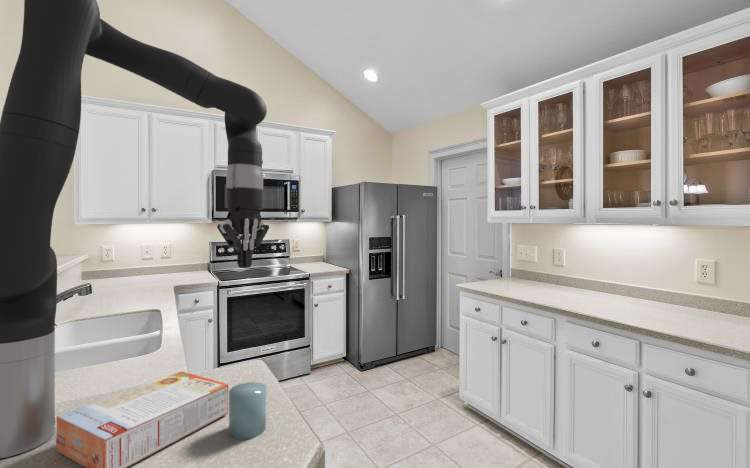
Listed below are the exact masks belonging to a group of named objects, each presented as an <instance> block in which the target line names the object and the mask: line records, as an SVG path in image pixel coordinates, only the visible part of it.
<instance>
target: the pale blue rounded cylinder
mask: <svg viewBox="0 0 750 468" xmlns="http://www.w3.org/2000/svg"><path fill="white" fill-rule="evenodd" d="M266 416H267V387H266V385H265V384H264V383H263V382H259V381H258V382H257V381H249V382H243V383H239V384H237V385H235V386H233V387H231V388H230V389H229V390H228V435H229V436H230V438H232V439H234V440H239V441H245V440H249V439H250V440H251V439H254V438H257V437H258V436H259V437H260V435H262V434H264V432H265V431H266V428H267V426H266V424H267V421H266V420H267V419H266V418H267V417H266Z"/></svg>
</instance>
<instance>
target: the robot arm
mask: <svg viewBox="0 0 750 468" xmlns="http://www.w3.org/2000/svg"><path fill="white" fill-rule="evenodd" d="M23 2H24V3H23V5H24V6H23V21H22V23H23V24H22V37H21V44H20V49H19V53H18V57H17V60H16V64H15V66H14V70H13V72H12V76H11V78H10V82H9V86H8V88H7V89H8V90H7V92H6V93H7V94H6V98H5V100H4V105H3V108H2V112H1V117H0V459H4V458H8V457H9V458H10V457H13V456H16V455H19V454H22V453H26V452H28V451H30V450H33V449H35V448H36V447H39V446H41V445H43V444H44V443H46V442H47V441H49V440H50V439H51V438H52V437H53V436H54V435H55V430H56V428H55V427H56V425H55V424H56V412H55V411H56V410H55V409H56V406H55V405H56V401H55V399H56V395H55V394H56V391H55V389H56V387H55V385H56V382H55V379H56V378H55V377H56V373H55V372H56V371H55V369H56V365H55V364H56V361H55V359H56V358H55V357H56V354H55V349H56V346H55V345H56V344H55V343H56V340H55V337H56V335H55V334H56V333H55V332H56V330H55V329H56V328H55V327H56V325H55V324H56V315H57V314H56V313H57V306H58V305H57V302H58V301H57V299H58V296H57V295H58V290H57V289H58V260H57V259H58V258H57V255H56V252H55V250H54V249H53V247H52V246H51V238H52V226H53V219H54V218H53V217H54V212H55V208H56V206H57V205H56V204H57V202H58V199H59V197H60V195H61V192H62V191H63V187H64V186H65V184H66V181H67V180H68V176H69V174H70V172H71V169H72V165H73V163H74V158H75V154H76V151H77V145H78V139H79V134H80V129H81V121H82V120H81V119H82V118H81V117H82V69H83V63H84V58H85V55H87V56H89V57H92V58H95V59H97V60H100V61H102V62H106V63H109V64H110V65H113V66H115V67H118V68H120V69H123V70H125V71H127V72H130V73H132V74H134V75H136V76H139V77H141V78H144V79H145V80H148V81H150V82H152V83H154V84H156V85H158V86H160V87H162V88H164V89H166V90H168V91H170V92H172V93H174V94H176V95H177V96H180V97H181V98H183V99H185V100H187V101H189V102H191V103H193V104H195V105H197V106H199V107H200V108H201V107H202V108H204V109H217V110H219V111H222V112H224V127H225V135H226V140H227V170H226V176H225V177H226V179H225V181H226V182H225V183H226V185H225V186H226V188H225V189H226V190H225V192H226V195H225V196H226V197H225V198H226V199H225V206H226V209H228V210H227V211H228V212H227V215H226V220H225V221H223V223H218V224H217V229H218V232H220V235H221V236H222V238H223V239H224V240H225V243H226V244H227V246H228V247H229V248H231V249H235V250H236V252H237V253H236V257H237V261H236V262H237V265H238V268H240V269H249V268H251V267H252V263H253V251H254V249H255V248H258V247H260V245H261V244H262V242H263V241H264V238H265V236H266V235H267V233H268V231H269V229H270V226H269V224H265V223H264V222H263V221H262V219H263V217H262V214H261V210H263V208H264V174H263V147H262V144H261V143H260V141H259V140H258V135H257V126H258V125H259V124H261V123H262V122H263V121H264V120H265V118H266V117H267V112H268V111H267V109H268V107H267V105H266V103H265V101H264V99H263V98H262V96H260V95H259V94H258V93H257V92H256V91H254V90H253V89H251V88H249V87H247V86H244V85H242V84H240V83H237V82H233V80H232V81H231V80H229V79H226V78H223V77H219V76H217V75H215V74H213V73H212V72H210V71H209V70H207V69H205V68H204V67H202V66H200V65H199V64H197V63H195V62H193V61H191V60H190V59H187V58H186V57H184V56H182V55H179V54H178V53H176V52H172V51H169V50H165V49H162V48H159V47H157V46H154V45H150V44H147V43H145V42H142V41H139V40H138V39H135V38H133V37H131V36H128V35H127V34H125V33H124V32H122V31H120V30H118V29H116V28H115V27H114V26H112V25H111V24H109V23H108V22H107V21H105V20H103V19H102V18H101V12H100V7H99V4H98V2H97V0H23Z"/></svg>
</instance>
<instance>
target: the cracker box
mask: <svg viewBox="0 0 750 468" xmlns="http://www.w3.org/2000/svg"><path fill="white" fill-rule="evenodd" d="M226 415H229V384H228V383H226V382H225V383H224V382H221V381H218V380H214V379H211V378H207V377H204V376H200V375H196V374H193V373H188V372H185V371H179V372H177V373H173V374H171V375H168V376H165V377H162V378H159V379H156V380H154V381H151V382H148V383H145V384H143V385H140V386H137V387H134V388H132V389H129V390H125V391H122V392H120V393H117V394H114V395H111V396H108V397H106V398H104V399H100V400H98V401H95V402H91V403H89V404H87V405H82V406H81V407H77V408H76V409H72V410H70V411H67V412H64V413H60V414H59V415H57V416H56V437H55V438H56V439H55V441H56V442H55V443H56V447H55V449H56V452H57V453H60V454H61V455H63V456H65V457H66V458H68V459H70V460H72V461H73V462H75V463H77V464H79V465H81V466H82V467H84V468H129V467H130V466H131V465H134V464H135V463H137V462H140V461H142V460H143V459H145V458H148V457H149V456H150V455H152V454H154V453H156V452H158V451H160V450H162V449H164V448H165V447H168V446H170V445H171V444H173V443H175V442H177V441H178V440H181V439H183V438H184V437H186V436H188V435H190V434H192V433H194V432H196V431H198V430H199V429H201V428H203V427H205V426H207V425H209V424H211V423H212V422H214V421H216V420H218V419H220V418H221V417H224V416H226Z"/></svg>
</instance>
